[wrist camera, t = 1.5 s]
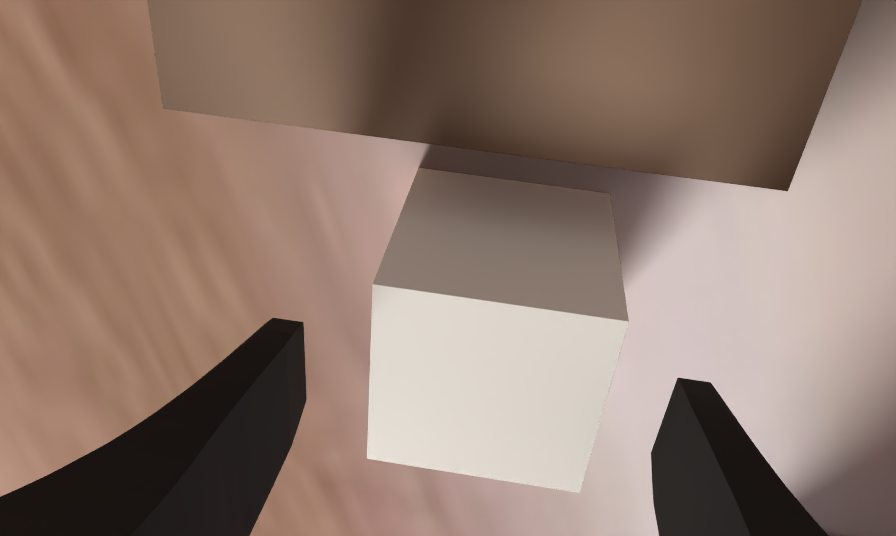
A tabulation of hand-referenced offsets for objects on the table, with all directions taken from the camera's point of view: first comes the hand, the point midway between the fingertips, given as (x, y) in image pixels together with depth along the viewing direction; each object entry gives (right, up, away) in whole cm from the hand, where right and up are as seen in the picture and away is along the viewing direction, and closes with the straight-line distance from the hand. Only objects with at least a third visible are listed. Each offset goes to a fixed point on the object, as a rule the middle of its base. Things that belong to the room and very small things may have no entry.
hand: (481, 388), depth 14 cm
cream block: (+1, +3, +4) cm, 5 cm away
